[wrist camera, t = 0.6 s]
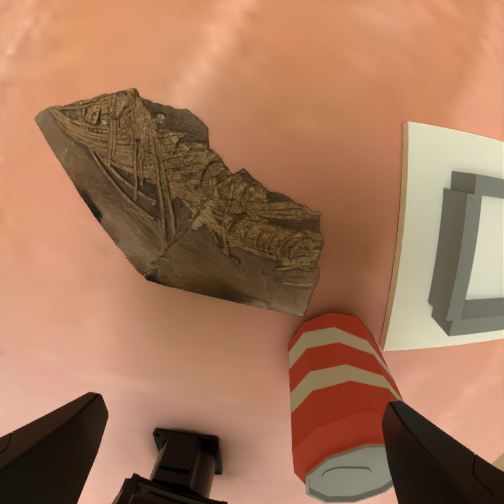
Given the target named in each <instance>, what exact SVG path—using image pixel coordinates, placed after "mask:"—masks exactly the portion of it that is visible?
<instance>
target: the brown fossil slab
mask: <svg viewBox="0 0 504 504" xmlns="http://www.w3.org/2000/svg"><path fill="white" fill-rule="evenodd" d="M35 121H36V123H37V125H38V126H39V128H40V130H41V131H42V133H43V135H44V137H45V139H46V141H47V142H48V144H49V146H50V147H51V149H52V151H53V152H54V154H55V155H56V157H57V159H58V160H59V162H60V163H61V165H62V166H63V168H64V170H65V171H66V172H67V174H68V176H69V177H70V179H71V181H72V182H73V184H74V185H75V187H76V189H77V191H78V192H79V194H80V196H81V197H82V198H83V200H84V202H85V203H86V204H87V205H88V207H89V209H90V210H91V212H92V213H93V215H94V216H95V217H96V219H97V220H98V221H99V223H100V224H101V226H102V227H103V228H104V230H105V231H106V232H107V233H108V235H109V236H110V237H111V238H112V240H113V241H114V242H115V244H116V245H117V246H118V247H119V248H120V249H121V250H122V252H124V254H125V255H126V256H127V257H126V258H127V259H128V260H129V261H130V263H131V264H132V265H133V266H134V267H135V269H136V270H137V271H138V272H139V273H140V274H142V275H143V276H144V273H145V272H147V271H148V270H150V272H149V273H148V274H146V275H145V276H144V277H145V279H147V280H148V281H151V282H155V283H158V284H162V285H165V286H169V287H173V288H178V289H182V290H186V291H189V292H194V293H199V294H202V295H208V296H211V297H216V298H220V299H225V300H229V301H233V302H237V303H243V304H246V305H254V306H257V307H260V308H264V307H265V308H267V309H271V310H276V311H278V312H283V313H289V314H292V315H298V316H305V313H306V309H307V307H308V304H309V301H310V298H311V296H312V293H313V290H314V288H315V286H316V284H317V282H318V280H319V266H318V258H319V256H320V251H321V249H322V247H323V243H324V241H323V239H324V238H323V236H322V234H321V233H320V231H319V222H320V215H321V213H320V211H316V212H313V211H311V210H310V209H309V208H308V207H306V206H301V205H300V204H296V203H294V202H293V201H292V200H291V199H290V198H288V197H286V196H284V195H283V194H282V195H281V194H278V193H273V192H272V193H270V192H269V191H267V190H266V188H264V187H262V185H261V184H260V183H259V182H258V181H256V180H254V179H253V178H252V177H251V176H250V175H249V173H248V172H247V171H246V170H245V169H244V168H243V169H242V170H240V171H239V172H237V173H235V174H234V175H232V173H230V171H229V169H228V168H227V167H226V166H225V165H224V163H223V161H222V160H221V159H220V157H219V156H218V155H217V154H216V153H214V151H213V150H211V149H209V142H208V135H207V128H206V126H205V125H204V124H203V123H202V122H201V121H200V120H199V119H198V118H197V117H196V116H194V115H193V114H192V113H190V112H189V111H188V110H187V109H174V108H172V107H170V106H164V105H161V104H158V103H151V101H149V100H147V99H143V98H141V97H139V94H138V92H137V90H136V89H134V88H131V89H127V90H125V91H124V90H123V91H119V92H116V93H112V94H102V95H99V96H96V97H94V98H93V99H90V100H80V101H77V102H74V103H72V104H69V105H65V106H63V107H60V106H54V107H52V106H51V107H49V108H47V109H45V110H43V111H40V112H39V113H38V115H37V116H36V117H35Z"/></svg>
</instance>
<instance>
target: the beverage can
mask: <svg viewBox="0 0 504 504" xmlns="http://www.w3.org/2000/svg"><path fill="white" fill-rule="evenodd" d="M288 356H289V377H290V400H291V427H292V454H293V464H294V473H295V474H296V475H297V476H298V477H299V478H300V479H301V480H302V481H303V483H304V484H305V485H306V494H307V495H309V496H311V497H313V498H315V499H318V500H320V501H322V502H324V503H355V502H358V501H361V500H365V499H368V498H371V497H374V496H377V495H380V494H382V493H385V492H387V491H388V490H389V489H391V488H392V487H394V485H393V482H392V478H391V475H390V471H389V467H388V462H387V456H386V449H385V443H384V437H383V431H382V418H383V415H384V411H385V408H386V405H387V403H388V402H389V401H394V400H401V401H403V399H402V397H401V395H400V393H399V390H398V388H397V386H396V384H395V382H394V380H393V377H392V375H391V373H390V371H389V369H388V367H387V365H386V363H385V361H384V358H383V356H382V354H381V352H380V350H379V348H378V346H377V344H376V342H375V340H374V338H373V336H372V334H371V333H370V332H369V330H368V329H367V328H366V327H365V326H364V325H363V324H362V323H361V321H360V320H359V319H358V318H357V317H356V316H349V315H343V314H337V313H330V312H329V313H327V314H324V315H322V316H320V317H317V318H315V319H312V320H310V321H307V322H305V323H303V324H302V325H301V327H300V328H299V330H298V331H297V332H296V334H295V335H294V337H293V338H292V339H291V341H290V342H289V344H288ZM403 402H404V401H403Z"/></svg>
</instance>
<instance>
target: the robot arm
mask: <svg viewBox="0 0 504 504" xmlns="http://www.w3.org/2000/svg"><path fill="white" fill-rule="evenodd" d="M107 420H108V410H107V408H106V405H105V402H104V400H103V397H102V395H101V394H99V393H94V392H88V393H86V394H84V395H83V396H81V397H79V398H77V399H75V400H73V401H71V402H69V403H68V404H66V405H64V406H62V407H60V408H58V409H56V410H54V411H52V412H50V413H48V414H46V415H45V416H43V417H41V418H39V419H37V420H35V421H33V422H31V423H29V424H27V425H25V426H23V427H21V428H19V429H17V430H15V431H13V432H12V433H9V434H7V435H4V436H2V437H0V504H77V502H78V500H79V497H80V495H81V492H82V490H83V487H84V485H85V482H86V480H87V477H88V475H89V472H90V470H91V468H92V465H93V463H94V460H95V458H96V455H97V453H98V450H99V447H100V443H101V440H102V436H103V433H104V430H105V426H106V423H107ZM382 431H383V437H384V443H385V449H386V456H387V462H388V467H389V471H390V475H391V478H392V482H393V485H394V489H395V493H396V496H397V500H398V504H504V472H503V471H501V470H500V469H498V468H496V467H495V466H493V465H491V464H490V463H488V462H487V461H485V460H484V459H482V458H481V457H479V456H478V455H477V454H475V453H474V452H472V451H471V450H469V449H468V448H466V447H465V446H464V445H462V444H461V443H459V442H458V441H457V440H455V439H454V438H452V437H451V436H450V435H448V434H447V433H445V432H444V431H443V430H441V429H440V428H438V427H437V426H436V425H434V424H433V423H432V422H430V421H429V420H427V419H426V418H425V417H423V416H422V415H421V414H419V413H418V412H416V411H415V410H414V409H412V408H411V407H410V406H408V405H407V404H406V403H404V402H403V401H401V400H394V401H389V402H388V403H387V405H386V408H385V411H384V415H383V418H382ZM153 436H154V439H155V442H156V445H157V448H158V451H159V454H158V457H157V460H156V462H155V465H154V468H153V470H152V473H151V476H150V478H149V480H148V479H146V478H143V477H141V476H139V475H138V474H135V473H134V474H133V476H132V478H125V481H124V483H123V485H122V488H121V490H120V492H119V493H118V495H117V496H116V498H115V499H114V501H113V502H112V504H227V502H225V501H217V500H213V499H209V497H210V492H211V487H212V482H213V477H214V474H215V475H221V474H222V472H223V467H222V459H221V450H220V441H219V439H218V438H217V437H214V436H204V435H196V434H188V433H181V432H174V431H167V430H161V429H155V430H154V432H153Z"/></svg>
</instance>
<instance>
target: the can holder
mask: <svg viewBox="0 0 504 504" xmlns="http://www.w3.org/2000/svg"><path fill="white" fill-rule="evenodd" d="M502 338H504V142H502V141H499V140H495V139H491V138H487V137H484V136H479V135H475V134H471V133H467V132H462V131H458V130H453V129H448V128H443V127H438V126H432V125H427V124H421V123H415V122H409V121H408V122H404V123H403V149H402V180H401V198H400V211H399V223H398V233H397V242H396V251H395V259H394V267H393V274H392V280H391V287H390V293H389V299H388V305H387V310H386V316H385V321H384V326H383V331H382V336H381V341H380V346H381V348H382V350H383V351H398V350H411V349H423V348H433V347H443V346H452V345H460V344H468V343H475V342H482V341H489V340H495V339H502Z"/></svg>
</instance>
